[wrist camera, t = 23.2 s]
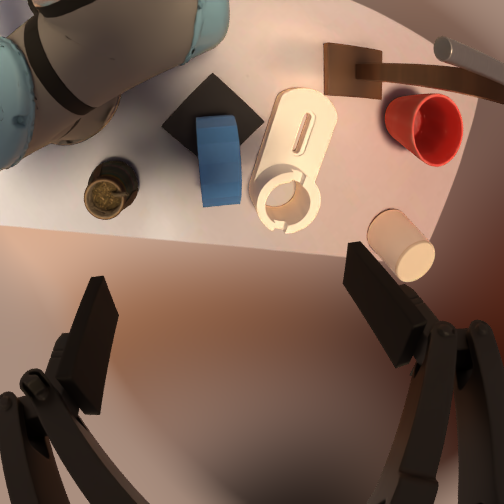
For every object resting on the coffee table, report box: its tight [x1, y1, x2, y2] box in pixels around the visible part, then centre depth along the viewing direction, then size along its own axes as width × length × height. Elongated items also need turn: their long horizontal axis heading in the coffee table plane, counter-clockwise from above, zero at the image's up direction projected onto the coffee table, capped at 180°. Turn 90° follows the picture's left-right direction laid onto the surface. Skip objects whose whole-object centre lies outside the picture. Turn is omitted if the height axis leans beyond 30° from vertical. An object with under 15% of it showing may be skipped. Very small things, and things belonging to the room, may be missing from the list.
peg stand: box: [324, 36, 504, 104], centre depth 23 cm, size 17×8×35 cm, turn 92°
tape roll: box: [196, 115, 242, 207], centre depth 36 cm, size 4×11×11 cm
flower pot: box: [385, 94, 463, 167], centre depth 39 cm, size 11×11×10 cm
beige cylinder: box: [367, 209, 435, 282], centre depth 50 cm, size 11×9×10 cm
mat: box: [161, 73, 264, 157], centre depth 39 cm, size 10×10×1 cm
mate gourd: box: [84, 161, 138, 220], centre depth 37 cm, size 7×8×10 cm
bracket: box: [249, 88, 338, 234], centre depth 41 cm, size 20×9×7 cm, turn 163°
